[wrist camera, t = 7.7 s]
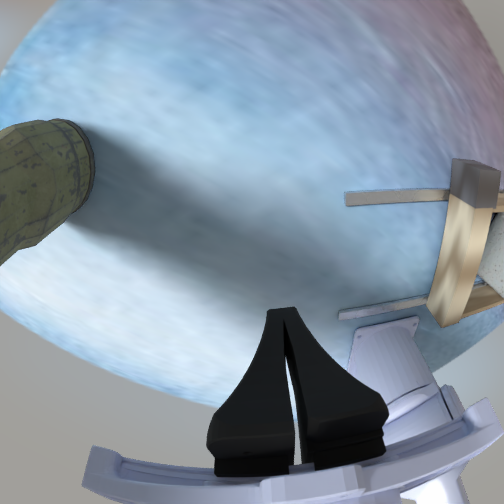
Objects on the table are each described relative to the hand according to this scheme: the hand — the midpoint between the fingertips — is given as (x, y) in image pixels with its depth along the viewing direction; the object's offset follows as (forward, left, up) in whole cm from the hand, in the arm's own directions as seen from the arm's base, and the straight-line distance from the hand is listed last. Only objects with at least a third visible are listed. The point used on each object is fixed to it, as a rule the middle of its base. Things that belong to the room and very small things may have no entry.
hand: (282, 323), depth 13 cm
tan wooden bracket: (-1, -22, -9) cm, 24 cm away
